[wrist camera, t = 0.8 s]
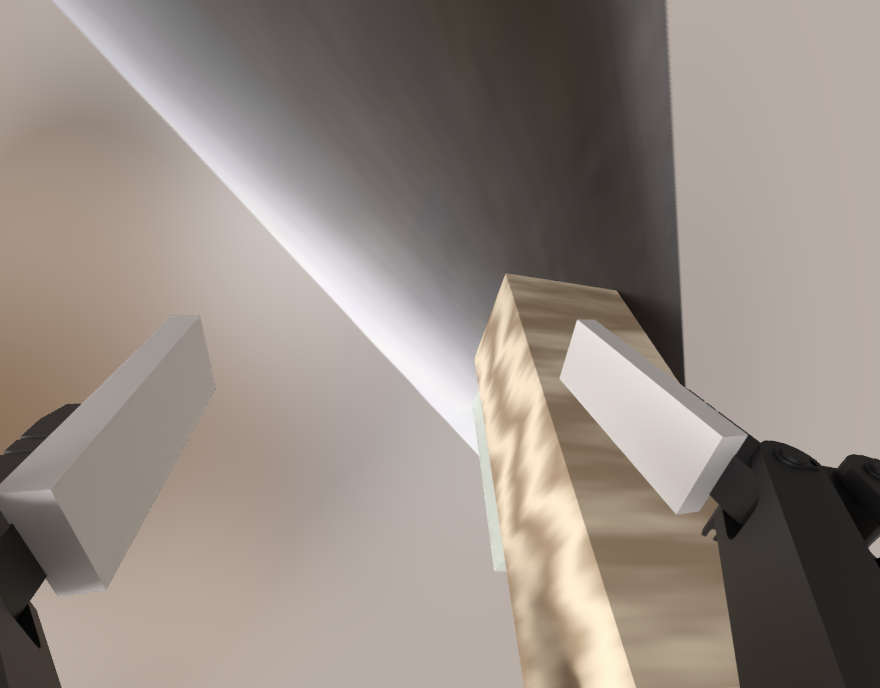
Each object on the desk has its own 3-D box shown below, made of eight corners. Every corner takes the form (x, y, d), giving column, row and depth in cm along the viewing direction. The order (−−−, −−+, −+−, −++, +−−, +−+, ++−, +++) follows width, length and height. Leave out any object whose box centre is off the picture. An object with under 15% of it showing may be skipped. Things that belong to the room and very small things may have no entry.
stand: (505, 273, 36) (661, 769, 13) (616, 290, 38) (927, 749, 15) (474, 358, 44) (535, 762, 21) (567, 369, 46) (719, 750, 23)
